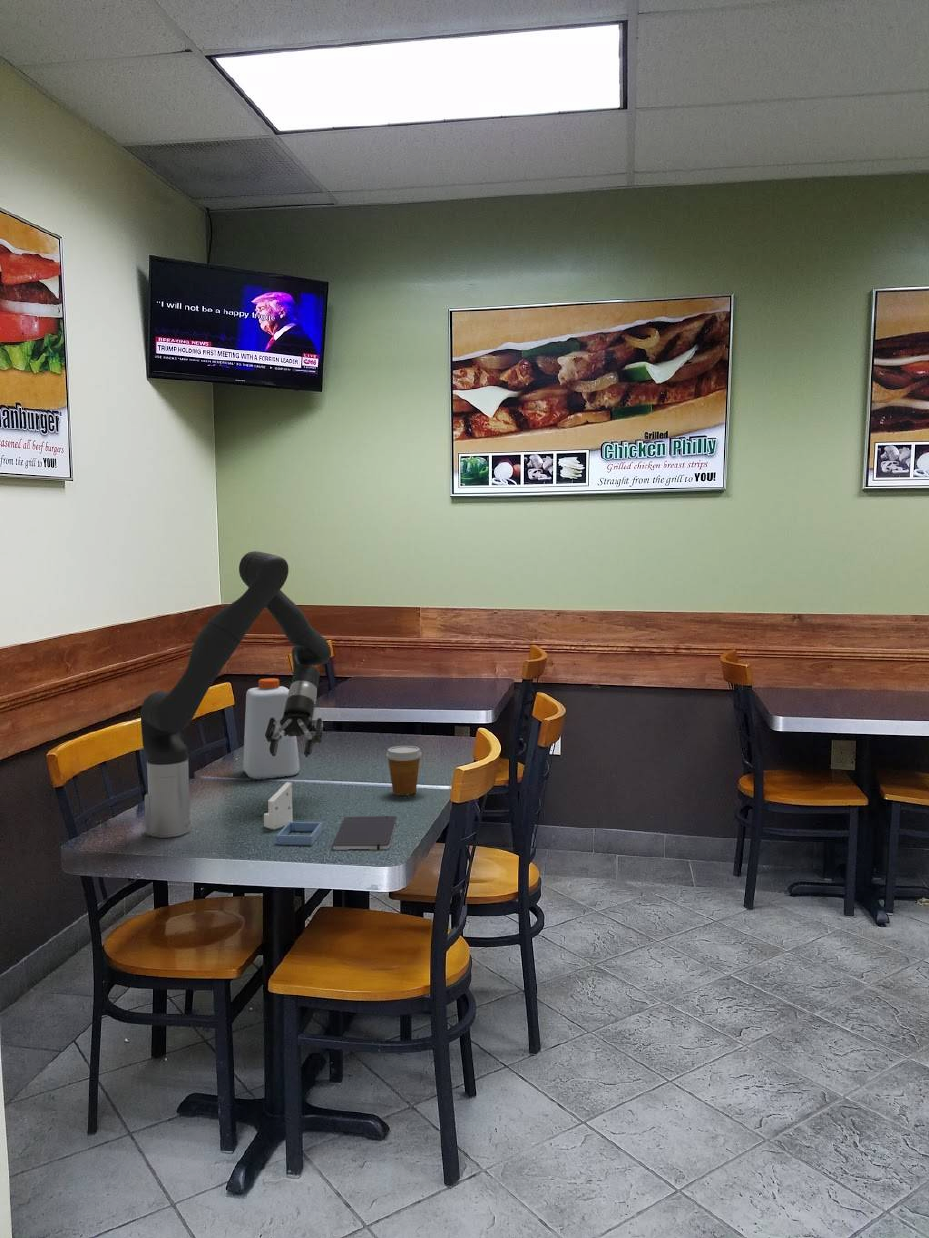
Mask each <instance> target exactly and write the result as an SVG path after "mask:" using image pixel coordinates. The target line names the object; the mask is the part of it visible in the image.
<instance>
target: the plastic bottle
mask: <svg viewBox="0 0 929 1238" xmlns="http://www.w3.org/2000/svg"><path fill="white" fill-rule="evenodd" d="M289 689H290V688H289ZM289 689H288V688H287V687H285V686H283V685H282V686H280V679H279V678H273V677H272V678H270V677H269V678H261V679H259V680H258V687H252V688H249V689H248V690H247V691H246V695H245V714H244V715H245V716H244V718H245V719H244V738H243V739H244V740H243V763H242V764H243V765H242V769H243V771H244V773H246V775H247V776H248V777H249V778H250V779H253V780H267V778H269V779H276V778H277V777H278V778H286V777H285V776H287V777H292V776H295V775H297V774H298V773H299V772H300V760H299V752H298V751H299V748H298V741H297V736H289V735H288V736H287V737H286V738H285V739H282V740H281V741H280V742H279V743H278V748H277V752H276V756H272V754H271V753H270V750H269V748H270V744H271V742H268V741H267V739H266V737H265V733H266V730H267V727H268V724H269V720H270V718H274V719H275V720H281V719H282V718H283V714H284V709H285V705H286V700H287V696H288V692H289ZM280 727H281V725H279V726H278V727H277V729H275V731H274V734H275V733H276V732H277V730H278V729H279V728H280ZM284 732H285V731H283V733H284Z"/></svg>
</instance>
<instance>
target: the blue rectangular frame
mask: <svg viewBox="0 0 929 1238" xmlns="http://www.w3.org/2000/svg"><path fill="white" fill-rule="evenodd" d="M294 830H295V831H294ZM322 831H323V832H324V822H321V821H320V822H316V821H315V822H313V821H310V822H309V821H306V822H305V821H293V822H288V823H287V824H286V826H284V827H282V829H281V830H280V831H279V832H278V833H277V834H276V836H275V842H276V843H275V844H276V845H279V846H280V845H282V846H283V845H284V846H285V845H287V846H288V845H290V846H292V845H293V846H313V845H314V843H315V842H316V841H317V840H318V838H319V837H320V835H322V833H323V832H322ZM289 832H311V833H310V834H309V835H299V834H298V835H297V834H296V835H295V834H294V835H293V834H290V833H289ZM288 833H289V834H288ZM315 840H316V841H315Z"/></svg>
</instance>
